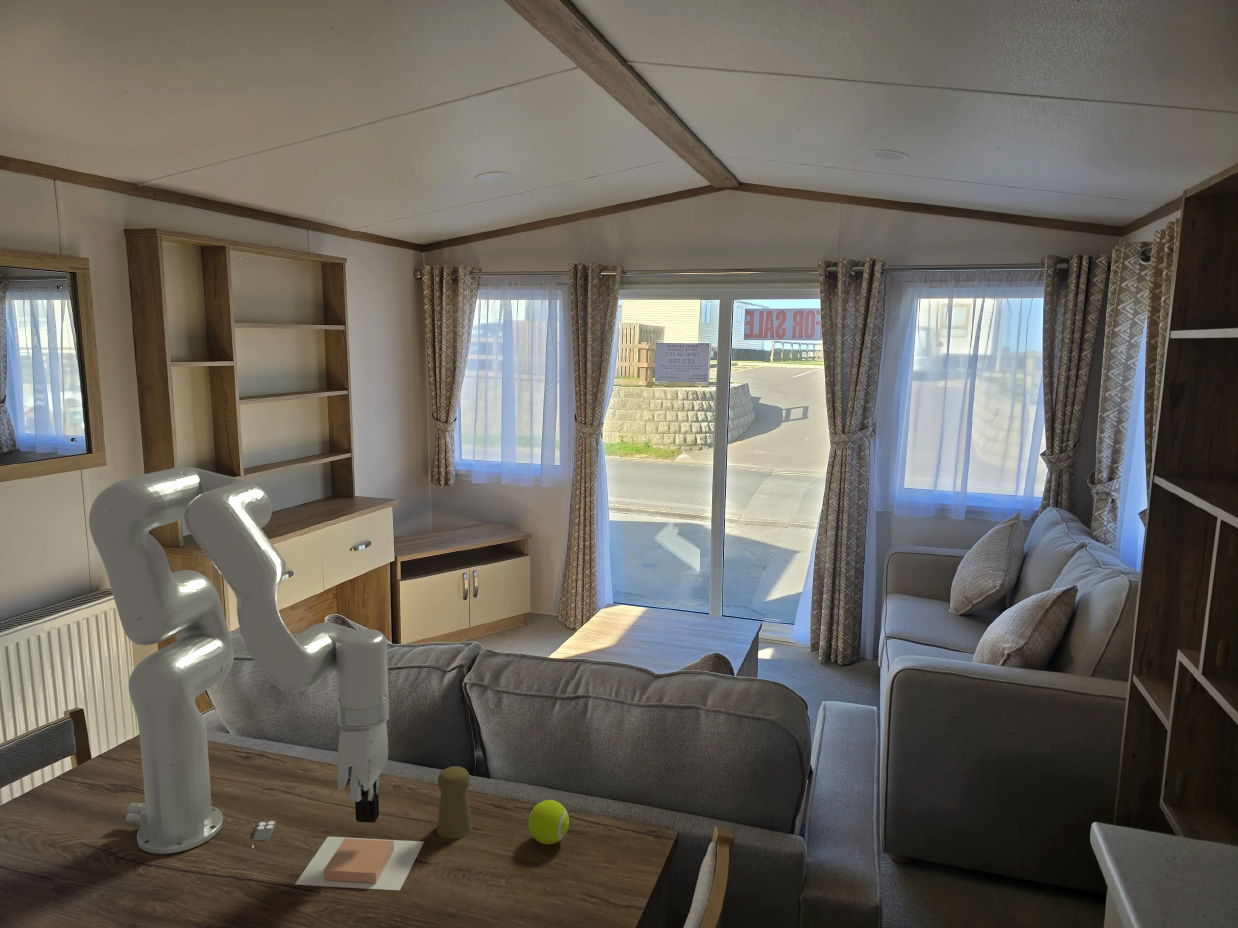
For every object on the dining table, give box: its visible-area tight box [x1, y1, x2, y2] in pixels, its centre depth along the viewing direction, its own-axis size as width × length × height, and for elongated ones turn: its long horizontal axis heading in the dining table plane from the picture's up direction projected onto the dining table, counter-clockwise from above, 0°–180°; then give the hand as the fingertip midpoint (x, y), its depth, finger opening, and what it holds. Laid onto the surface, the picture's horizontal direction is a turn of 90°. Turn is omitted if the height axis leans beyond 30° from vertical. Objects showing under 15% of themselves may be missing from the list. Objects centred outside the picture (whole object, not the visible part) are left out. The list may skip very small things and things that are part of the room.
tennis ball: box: [528, 799, 570, 845], centre depth 136 cm, size 7×7×7 cm
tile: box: [324, 837, 394, 883], centre depth 128 cm, size 8×2×8 cm
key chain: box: [251, 819, 277, 849], centre depth 134 cm, size 13×4×2 cm, turn 12°
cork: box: [436, 765, 473, 840], centre depth 138 cm, size 6×6×11 cm
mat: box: [294, 836, 425, 892], centre depth 129 cm, size 16×12×1 cm
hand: (367, 818), depth 131 cm, fingers closed
